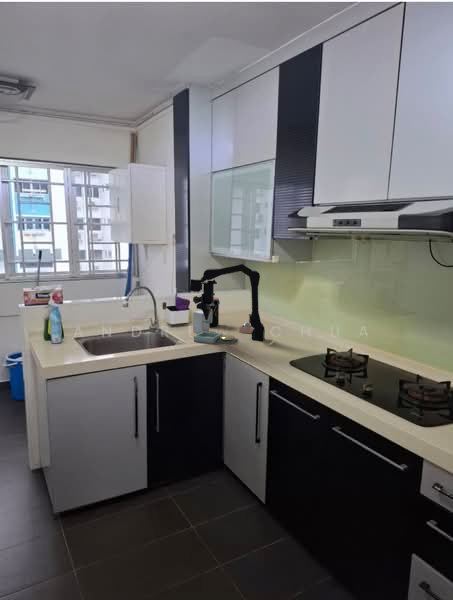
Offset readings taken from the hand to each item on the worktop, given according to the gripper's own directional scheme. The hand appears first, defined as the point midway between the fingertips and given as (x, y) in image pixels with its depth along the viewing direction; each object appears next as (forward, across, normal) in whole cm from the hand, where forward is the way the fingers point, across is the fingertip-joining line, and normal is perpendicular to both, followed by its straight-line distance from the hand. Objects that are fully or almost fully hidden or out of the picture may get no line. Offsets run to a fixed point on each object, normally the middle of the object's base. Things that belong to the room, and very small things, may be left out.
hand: (208, 319), depth 224 cm
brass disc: (+10, -2, +11) cm, 15 cm away
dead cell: (+11, -25, +14) cm, 31 cm away
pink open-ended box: (+12, -25, +14) cm, 31 cm away
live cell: (+2, 0, 0) cm, 2 cm away
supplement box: (+12, -15, -12) cm, 23 cm away
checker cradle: (+12, -2, +11) cm, 16 cm away
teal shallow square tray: (+12, 0, 0) cm, 12 cm away
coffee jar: (+12, -33, -14) cm, 38 cm away
